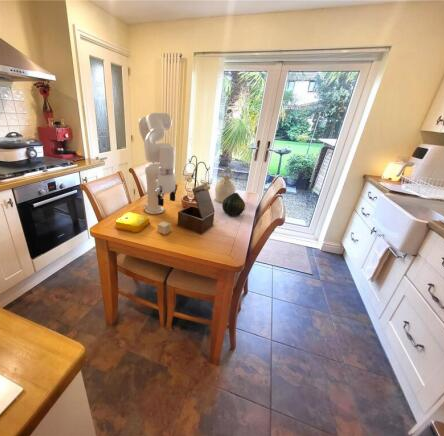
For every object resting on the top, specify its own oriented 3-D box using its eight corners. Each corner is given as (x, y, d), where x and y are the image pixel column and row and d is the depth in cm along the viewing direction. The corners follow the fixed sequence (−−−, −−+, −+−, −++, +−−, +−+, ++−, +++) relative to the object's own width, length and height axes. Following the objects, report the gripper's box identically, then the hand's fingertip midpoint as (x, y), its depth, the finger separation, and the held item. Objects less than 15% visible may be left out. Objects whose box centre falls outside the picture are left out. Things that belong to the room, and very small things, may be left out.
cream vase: (219, 195, 192) (222, 165, 181) (237, 200, 184) (241, 168, 173) (210, 200, 180) (213, 168, 170) (228, 205, 172) (233, 172, 162)
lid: (191, 188, 125) (199, 186, 122) (205, 183, 135) (212, 181, 132) (201, 219, 128) (209, 218, 124) (213, 211, 138) (221, 210, 134)
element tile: (137, 233, 129) (137, 225, 127) (114, 228, 134) (114, 220, 132) (150, 222, 142) (150, 215, 140) (128, 218, 147) (128, 211, 145)
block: (157, 232, 132) (157, 224, 130) (163, 228, 135) (163, 221, 133) (164, 234, 129) (164, 226, 127) (170, 231, 133) (170, 223, 130)
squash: (226, 212, 147) (242, 193, 146) (214, 204, 160) (229, 187, 159) (239, 223, 155) (253, 205, 154) (226, 215, 167) (240, 199, 167)
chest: (177, 225, 140) (178, 211, 137) (190, 218, 150) (191, 205, 146) (200, 234, 131) (202, 220, 128) (212, 225, 141) (214, 212, 138)
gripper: (171, 167, 126) (171, 197, 133) (149, 172, 113) (150, 205, 120) (183, 169, 122) (181, 200, 129) (161, 175, 109) (161, 209, 116)
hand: (166, 203), depth 125 cm, fingers open, 9 cm apart
